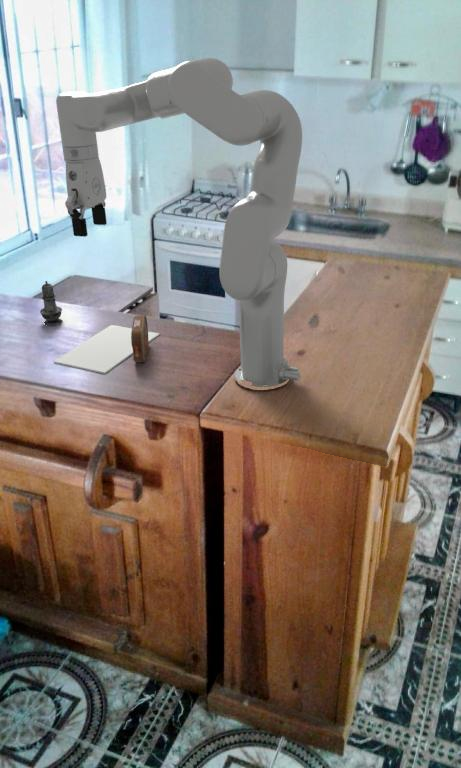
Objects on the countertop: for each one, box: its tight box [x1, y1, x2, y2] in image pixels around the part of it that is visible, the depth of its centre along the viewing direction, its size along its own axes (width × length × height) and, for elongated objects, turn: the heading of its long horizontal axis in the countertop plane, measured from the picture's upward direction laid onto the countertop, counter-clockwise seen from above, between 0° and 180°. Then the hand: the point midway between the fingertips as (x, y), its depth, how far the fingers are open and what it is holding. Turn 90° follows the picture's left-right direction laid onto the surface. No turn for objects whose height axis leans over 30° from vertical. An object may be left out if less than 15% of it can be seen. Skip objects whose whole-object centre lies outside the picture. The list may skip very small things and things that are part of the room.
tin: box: [131, 314, 149, 363], centre depth 171 cm, size 15×3×8 cm, turn 2°
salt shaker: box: [39, 280, 64, 327], centre depth 190 cm, size 6×6×12 cm
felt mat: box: [53, 324, 160, 374], centre depth 177 cm, size 15×24×1 cm, turn 154°
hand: (90, 230), depth 163 cm, fingers open, 9 cm apart
